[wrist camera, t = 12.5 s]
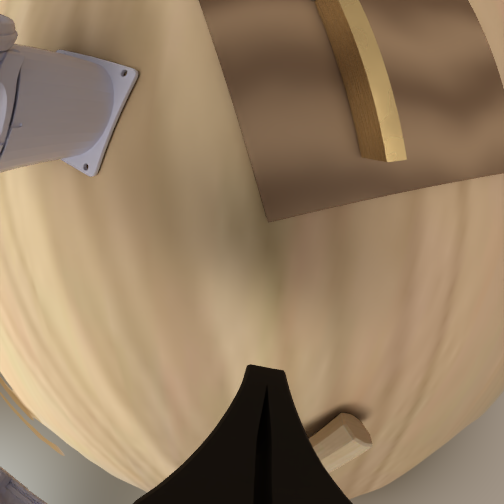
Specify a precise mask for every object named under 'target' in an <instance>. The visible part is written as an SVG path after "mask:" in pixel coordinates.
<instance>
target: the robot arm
mask: <svg viewBox="0 0 504 504" xmlns="http://www.w3.org/2000/svg"><path fill="white" fill-rule="evenodd" d="M17 36H18V34H17V31H16V30H15V23H14V21H13V20H12V19H10V18H8V17H6V16H4V15H1V14H0V172H4V171H8V170H12V169H16V168H20V167H24V166H28V165H33V164H37V163H42V162H47V161H52V160H57V159H61V160H62V161H64V162H66V163H67V164H69V165H71V166H72V167H74V168H76V169H78V170H79V171H81V172H83V173H84V174H86V175H88V176H90V177H92V176H95V175H97V173H98V171H99V168H100V165H101V162H102V159H103V156H104V153H105V151H106V148H107V145H108V143H109V140H110V137H111V135H112V132H113V130H114V127H115V125H116V123H117V120H118V118H119V116H120V113H121V111H122V109H123V107H124V104H125V102H126V100H127V98H128V96H129V94H130V92H131V90H132V88H133V86H134V84H135V82H136V80H137V78H138V71H137V70H136V69H133V68H130V67H127V66H124V65H120V64H117V63H114V62H110V61H107V60H103V59H99V58H95V57H91V56H87V55H83V54H79V53H74V52H70V51H65V50H57V51H56V52H53V51H48V50H44V49H39V48H34V47H29V46H23V45H18V44H14V42H15V41H16V39H17ZM126 71H127V75H126V76H124V73H125V72H126ZM87 164H88V169H87V167H86V166H87ZM0 504H47V503H46V502H44V501H43V500H41V499H40V498H39V497H37V496H36V495H34V494H33V493H32V492H30V491H29V490H28V489H27V488H26V487H25V486H24V485H23V484H21V483H20V482H19V481H18V480H16V479H15V478H14V477H13V476H11V475H10V474H9V473H8V472H7V471H5V470H4V469H3V468H1V467H0ZM133 504H352V502H351V501H350V500H349V499H348V498H347V497H346V496H345V495H344V493H343V492H342V491H341V489H340V488H339V487H338V486H337V484H336V483H335V482H334V480H333V479H332V478H331V476H330V475H329V473H328V472H327V470H326V469H325V467H324V466H323V464H322V463H321V461H320V459H319V458H318V456H317V454H316V452H315V450H314V449H313V447H312V445H311V443H310V441H309V439H308V437H307V434H306V432H305V430H304V428H303V426H302V423H301V421H300V418H299V416H298V413H297V410H296V408H295V405H294V402H293V399H292V396H291V393H290V390H289V386H288V382H287V379H286V374H285V372H284V371H283V370H277V369H272V368H267V367H261V366H256V365H251V364H250V365H248V366H247V368H246V371H245V374H244V378H243V381H242V384H241V386H240V388H239V390H238V392H237V394H236V396H235V398H234V400H233V401H232V403H231V405H230V407H229V408H228V410H227V411H226V413H225V414H224V416H223V417H222V419H221V420H220V422H219V423H218V424H217V426H216V427H215V429H214V430H213V431H212V432H211V434H210V435H209V436H208V437H207V439H206V440H205V441H204V442H203V443H202V444H201V446H200V447H199V448H198V449H197V450H196V451H195V452H194V453H193V454H192V455H191V456H190V457H189V458H188V459H187V460H186V461H185V462H184V463H183V464H182V465H181V466H180V467H179V468H178V469H177V470H175V471H174V472H173V473H172V474H171V475H170V476H169V477H167V478H166V479H165V480H164V481H163V482H161V483H160V484H159V485H157V486H156V487H155V488H153V489H152V490H150V491H149V492H148V493H146V494H145V495H143V496H142V497H140V498H139V499H137V500H136V501H135V502H134V503H133Z"/></svg>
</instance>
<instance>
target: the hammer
mask: <svg viewBox="0 0 504 504" xmlns="http://www.w3.org/2000/svg"><path fill="white" fill-rule="evenodd" d="M309 441H310V443H311V445H312V447H313V449H314V450H315V452H316V454H317V456H318V458H319V459H320V461H321V463H322V464H323V466H324V467H325V469H326V470H327V472H328V473H330V472H332V471H333V470H335V469H337V468H339V467H341V466H342V465H344V464H346V463H347V462H349V461H351V460H352V459H354V458H356V457H357V456H359V455H360V454H362V453H364V452H365V451H367V450H368V449H370V448H371V447H372V441H371V437H370V434H369V432H368V431H367V430H366V428H365V427H364V425H363V424H362V422H361V421H360V420H358V419H357V418H356V417H354V416H353V415H351V414H348V413H340V414H339V415H338V416H337V417H336V418H334V419H333V420H332V421H331V422H330V423H328V424H327V425H326V426H325V427H323V428H322V429H321V430H320V431H318V432H317V433H316V434H315V435H313V436H312V437H311V438H309Z"/></svg>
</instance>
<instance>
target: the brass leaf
mask: <svg viewBox="0 0 504 504" xmlns="http://www.w3.org/2000/svg"><path fill="white" fill-rule="evenodd" d="M315 5H316V7H317V10H318V12H319V15H320V17H321V19H322V22H323V24H324V27H325V30H326V32H327V35H328V38H329V40H330V43H331V46H332V49H333V52H334V55H335V57H336V61H337V64H338V67H339V70H340V73H341V76H342V80H343V83H344V86H345V90H346V94H347V97H348V101H349V105H350V109H351V112H352V117H353V121H354V125H355V129H356V134H357V138H358V143H359V148H360V153H361V158H367V159H372V160H378V161H383V162H393V161H401V160H407V157H406V151H405V145H404V140H403V134H402V129H401V125H400V120H399V115H398V111H397V107H396V103H395V99H394V95H393V91H392V88H391V84H390V81H389V77H388V74H387V71H386V68H385V65H384V61H383V58H382V56H381V53H380V50H379V47H378V44H377V42H376V39H375V36H374V34H373V31H372V29H371V26H370V24H369V21H368V19H367V17H366V14H365V12H364V10H363V8H362V6H361V3H360V1H359V0H316V1H315Z"/></svg>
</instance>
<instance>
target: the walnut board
mask: <svg viewBox="0 0 504 504" xmlns="http://www.w3.org/2000/svg"><path fill="white" fill-rule="evenodd" d="M359 1H360V3H361V6H362V8H363V10H364V12H365V14H366V17H367V19H368V21H369V24H370V26H371V29H372V31H373V34H374V36H375V39H376V42H377V44H378V47H379V50H380V53H381V56H382V58H383V61H384V65H385V68H386V71H387V74H388V77H389V81H390V84H391V88H392V91H393V95H394V99H395V103H396V107H397V111H398V115H399V120H400V125H401V129H402V134H403V140H404V145H405V151H406V157H407V160H401V161H393V162H383V161H378V160H372V159H367V158H361V153H360V148H359V143H358V138H357V134H356V129H355V125H354V121H353V117H352V112H351V109H350V105H349V101H348V97H347V94H346V90H345V86H344V83H343V80H342V76H341V73H340V70H339V67H338V64H337V61H336V57H335V55H334V52H333V49H332V46H331V43H330V40H329V38H328V35H327V32H326V30H325V27H324V24H323V22H322V19H321V17H320V15H319V12H318V10H317V7H316V5H315V1H311V0H199V2H200V5H201V8H202V11H203V13H204V16H205V19H206V22H207V25H208V28H209V31H210V34H211V37H212V40H213V43H214V46H215V49H216V52H217V55H218V58H219V61H220V64H221V67H222V70H223V74H224V77H225V80H226V83H227V86H228V89H229V92H230V96H231V99H232V102H233V105H234V108H235V112H236V115H237V118H238V121H239V125H240V128H241V131H242V135H243V138H244V141H245V145H246V148H247V151H248V155H249V158H250V161H251V165H252V168H253V172H254V175H255V178H256V182H257V185H258V189H259V192H260V196H261V199H262V203H263V206H264V210H265V213H266V217H267V221H268V222H272V221H277V220H281V219H285V218H289V217H293V216H297V215H302V214H306V213H310V212H315V211H319V210H323V209H328V208H332V207H336V206H341V205H345V204H350V203H354V202H359V201H363V200H368V199H373V198H377V197H382V196H387V195H392V194H396V193H401V192H406V191H411V190H416V189H421V188H426V187H431V186H436V185H441V184H446V183H452V182H457V181H462V180H468V179H473V178H479V177H484V176H490V175H496V174H502V173H504V89H503V85H502V82H501V78H500V75H499V72H498V69H497V66H496V63H495V60H494V57H493V54H492V52H491V49H490V46H489V44H488V41H487V39H486V37H485V34H484V32H483V30H482V27H481V25H480V23H479V21H478V19H477V17H476V15H475V13H474V11H473V9H472V7H471V5H470V3H469V1H468V0H359Z"/></svg>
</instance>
